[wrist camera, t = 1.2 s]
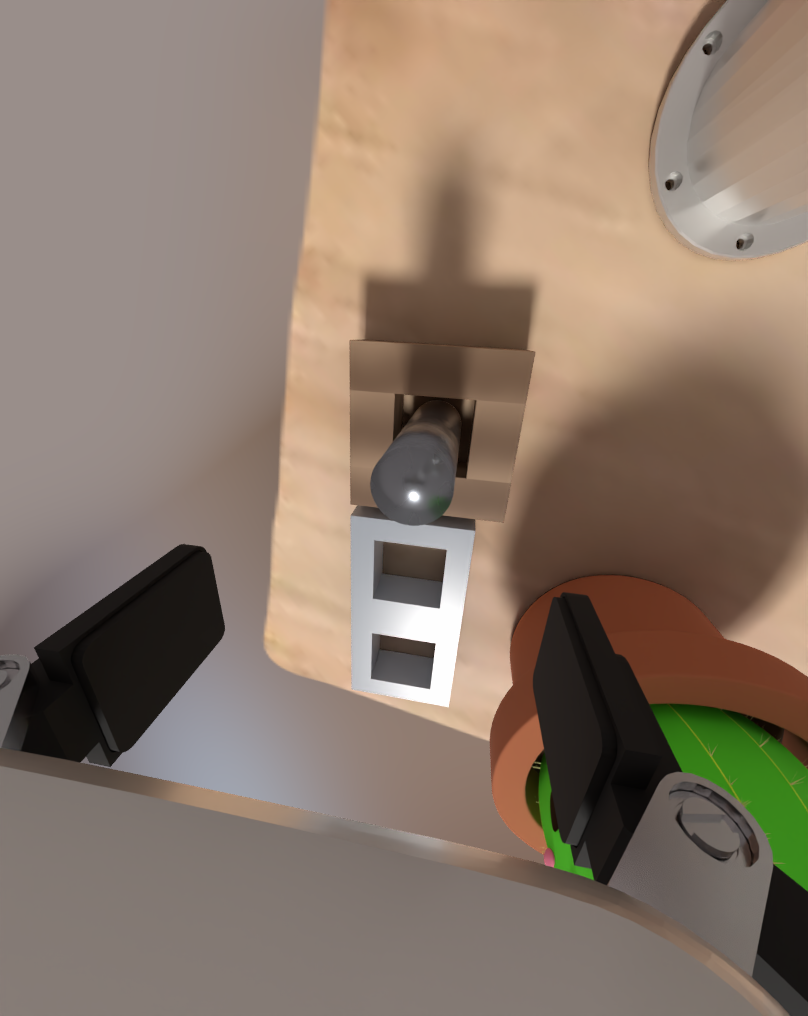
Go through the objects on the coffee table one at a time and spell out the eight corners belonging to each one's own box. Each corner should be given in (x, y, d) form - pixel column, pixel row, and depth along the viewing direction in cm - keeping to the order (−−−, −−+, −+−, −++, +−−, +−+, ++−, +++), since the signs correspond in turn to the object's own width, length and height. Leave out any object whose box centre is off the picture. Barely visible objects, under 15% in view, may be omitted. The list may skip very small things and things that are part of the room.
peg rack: (363, 496, 34) (350, 515, 31) (474, 509, 33) (475, 530, 29) (361, 659, 43) (351, 689, 39) (450, 674, 41) (448, 706, 38)
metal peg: (413, 398, 30) (371, 442, 17) (464, 402, 29) (458, 451, 17) (410, 447, 32) (369, 520, 19) (458, 451, 31) (449, 530, 18)
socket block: (364, 339, 29) (349, 340, 25) (527, 349, 27) (535, 351, 24) (363, 486, 34) (350, 504, 30) (500, 501, 32) (503, 522, 29)
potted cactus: (794, 597, 31) (1602, 1248, 9) (650, 749, 41) (867, 1249, 19) (540, 516, 32) (699, 932, 10) (457, 685, 42) (441, 1090, 19)
